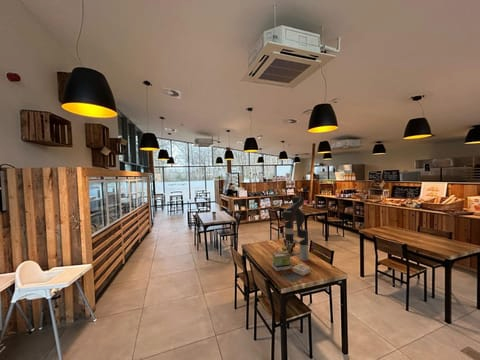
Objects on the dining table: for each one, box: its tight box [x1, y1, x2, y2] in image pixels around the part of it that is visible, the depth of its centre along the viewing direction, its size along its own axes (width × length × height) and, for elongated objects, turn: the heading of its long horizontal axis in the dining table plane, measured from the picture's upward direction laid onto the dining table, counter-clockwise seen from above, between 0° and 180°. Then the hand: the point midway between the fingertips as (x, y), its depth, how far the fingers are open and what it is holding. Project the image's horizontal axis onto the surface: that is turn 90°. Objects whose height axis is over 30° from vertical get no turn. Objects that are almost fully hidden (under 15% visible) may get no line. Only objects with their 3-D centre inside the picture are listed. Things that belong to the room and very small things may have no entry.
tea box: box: [272, 252, 291, 272], centre depth 205 cm, size 15×10×15 cm
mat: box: [280, 271, 304, 284], centre depth 185 cm, size 15×15×1 cm
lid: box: [279, 244, 300, 258], centre depth 185 cm, size 12×12×7 cm
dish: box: [292, 263, 311, 277], centre depth 194 cm, size 11×11×5 cm
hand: (290, 251), depth 185 cm, fingers closed on lid, 3 cm apart
